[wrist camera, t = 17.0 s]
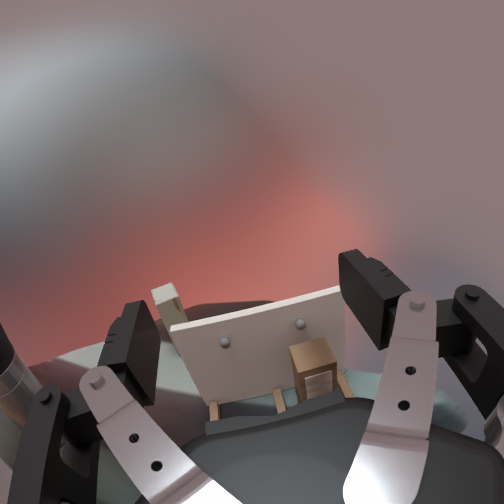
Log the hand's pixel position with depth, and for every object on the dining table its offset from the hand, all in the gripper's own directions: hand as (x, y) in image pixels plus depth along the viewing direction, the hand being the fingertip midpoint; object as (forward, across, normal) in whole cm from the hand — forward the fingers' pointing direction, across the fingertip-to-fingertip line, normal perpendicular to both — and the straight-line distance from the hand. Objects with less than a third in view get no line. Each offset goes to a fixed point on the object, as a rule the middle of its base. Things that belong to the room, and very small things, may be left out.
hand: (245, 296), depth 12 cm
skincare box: (+35, +14, +32) cm, 50 cm away
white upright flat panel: (+16, -1, +31) cm, 35 cm away
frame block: (+14, -6, +31) cm, 35 cm away
